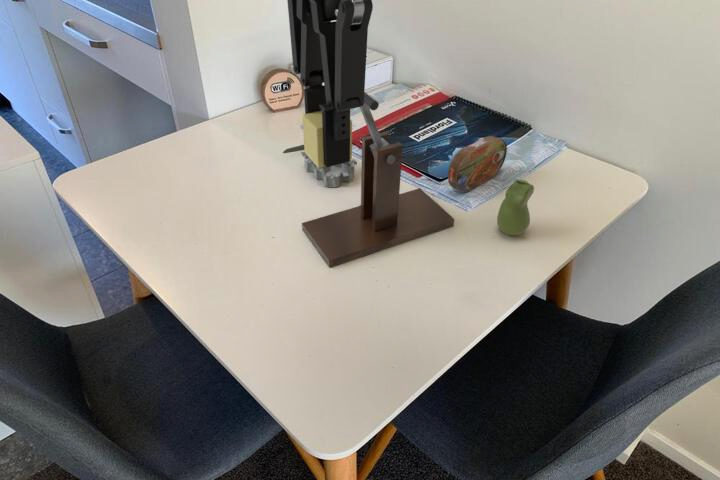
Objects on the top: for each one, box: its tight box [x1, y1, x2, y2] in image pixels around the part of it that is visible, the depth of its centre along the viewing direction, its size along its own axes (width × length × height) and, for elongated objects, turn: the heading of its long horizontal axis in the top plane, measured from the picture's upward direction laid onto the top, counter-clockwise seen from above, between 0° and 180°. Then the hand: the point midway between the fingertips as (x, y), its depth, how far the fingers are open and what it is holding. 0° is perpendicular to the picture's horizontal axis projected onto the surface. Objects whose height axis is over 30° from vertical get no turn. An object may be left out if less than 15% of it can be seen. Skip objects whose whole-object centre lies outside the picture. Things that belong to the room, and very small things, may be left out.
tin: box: [447, 135, 508, 193], centre depth 100 cm, size 15×3×8 cm, turn 131°
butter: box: [301, 111, 353, 168], centre depth 55 cm, size 4×4×4 cm
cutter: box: [359, 91, 390, 156], centre depth 77 cm, size 13×9×2 cm
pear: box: [496, 179, 535, 236], centre depth 87 cm, size 6×5×10 cm
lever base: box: [301, 131, 455, 268], centre depth 85 cm, size 24×11×17 cm, turn 118°
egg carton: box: [300, 151, 358, 188], centre depth 103 cm, size 11×8×4 cm
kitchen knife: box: [282, 144, 305, 154], centre depth 111 cm, size 16×1×2 cm, turn 116°
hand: (328, 153), depth 56 cm, fingers closed on butter, 4 cm apart
